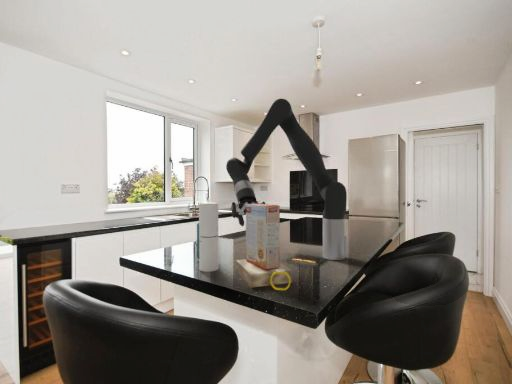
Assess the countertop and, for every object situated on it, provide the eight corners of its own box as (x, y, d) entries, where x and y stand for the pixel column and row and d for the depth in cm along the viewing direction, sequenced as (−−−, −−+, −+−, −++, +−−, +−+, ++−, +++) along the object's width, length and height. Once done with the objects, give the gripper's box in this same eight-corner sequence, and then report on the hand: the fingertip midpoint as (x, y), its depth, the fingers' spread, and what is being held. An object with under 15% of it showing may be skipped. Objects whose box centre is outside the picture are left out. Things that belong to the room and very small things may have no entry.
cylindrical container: (209, 272, 97) (209, 203, 97) (195, 269, 101) (195, 203, 101) (222, 267, 103) (222, 202, 103) (208, 265, 107) (208, 202, 107)
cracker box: (280, 268, 89) (280, 204, 89) (265, 270, 86) (265, 205, 86) (259, 258, 101) (259, 203, 101) (245, 260, 98) (244, 203, 98)
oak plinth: (271, 267, 104) (271, 256, 104) (292, 282, 87) (292, 270, 87) (236, 270, 99) (236, 260, 99) (251, 287, 82) (250, 274, 82)
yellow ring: (270, 291, 80) (269, 271, 80) (271, 288, 83) (270, 269, 83) (290, 291, 79) (289, 271, 79) (291, 288, 82) (289, 268, 82)
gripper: (229, 187, 107) (237, 218, 96) (263, 187, 112) (274, 217, 101) (226, 199, 112) (233, 231, 101) (258, 199, 117) (268, 229, 106)
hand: (253, 224), depth 101 cm, fingers open, 8 cm apart
